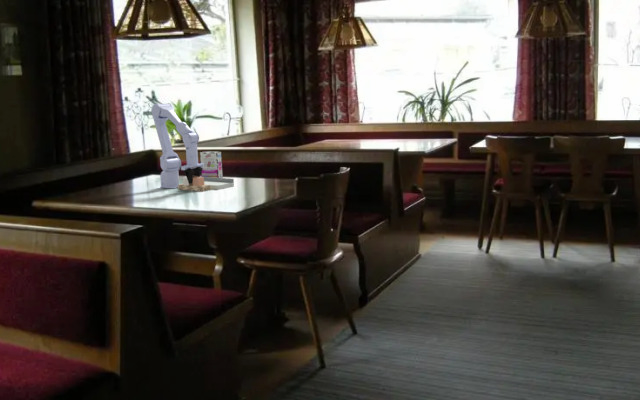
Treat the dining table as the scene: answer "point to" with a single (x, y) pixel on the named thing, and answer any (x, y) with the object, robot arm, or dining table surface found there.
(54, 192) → the dining table surface
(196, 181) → the salmon pink cube
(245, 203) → the dining table surface
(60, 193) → the dining table surface
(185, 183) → the white cube
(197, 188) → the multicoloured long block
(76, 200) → the dining table surface
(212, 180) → the dock
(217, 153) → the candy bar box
